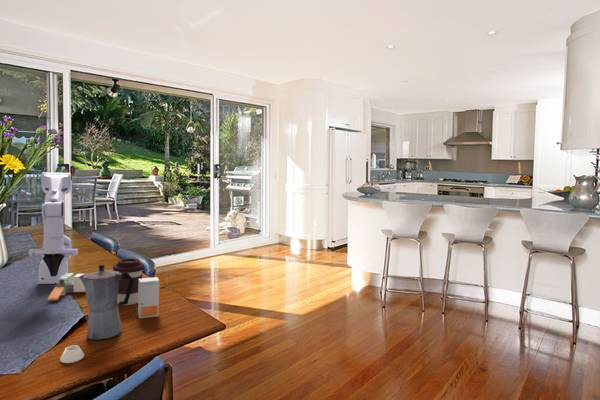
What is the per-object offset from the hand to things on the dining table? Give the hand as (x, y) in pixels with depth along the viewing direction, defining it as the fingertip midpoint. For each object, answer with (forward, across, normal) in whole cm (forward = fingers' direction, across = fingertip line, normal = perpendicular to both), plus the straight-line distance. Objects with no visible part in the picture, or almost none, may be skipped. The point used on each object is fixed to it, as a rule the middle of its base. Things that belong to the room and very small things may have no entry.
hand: (54, 275), depth 132 cm
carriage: (+9, +5, +10) cm, 15 cm away
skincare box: (+9, +34, -16) cm, 38 cm away
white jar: (+9, +21, -43) cm, 49 cm away
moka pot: (+9, +25, -29) cm, 39 cm away
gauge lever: (+7, 0, +2) cm, 8 cm away
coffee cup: (+9, +25, -3) cm, 27 cm away
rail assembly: (+9, +8, +10) cm, 16 cm away
